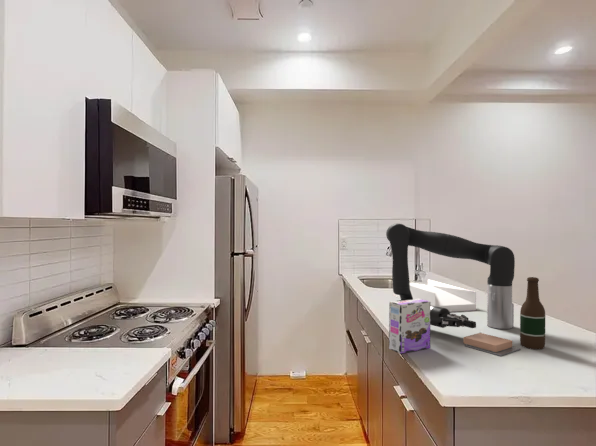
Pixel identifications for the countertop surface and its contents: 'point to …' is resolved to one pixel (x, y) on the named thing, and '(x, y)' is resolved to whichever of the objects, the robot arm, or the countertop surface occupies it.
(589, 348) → the countertop surface
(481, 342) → the tile
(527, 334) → the beer bottle
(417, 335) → the candy box
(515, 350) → the slate mat
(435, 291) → the building model
